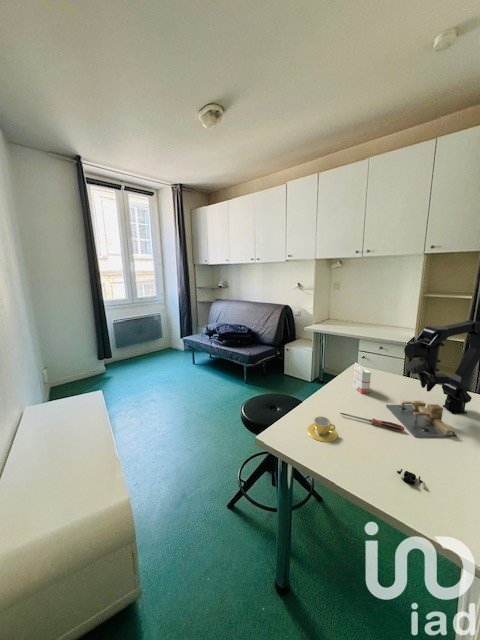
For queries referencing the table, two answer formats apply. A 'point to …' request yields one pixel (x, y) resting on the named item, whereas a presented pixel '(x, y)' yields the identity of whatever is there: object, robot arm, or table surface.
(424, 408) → the compass bar
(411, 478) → the wireless earbuds
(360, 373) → the ink cartridge box
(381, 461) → the table surface
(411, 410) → the steel plate
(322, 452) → the table surface
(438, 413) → the slider leg
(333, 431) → the cup
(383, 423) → the screwdriver
